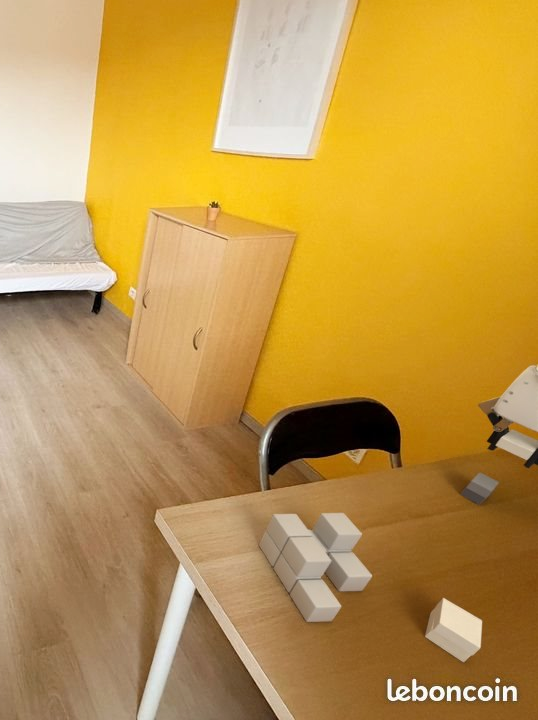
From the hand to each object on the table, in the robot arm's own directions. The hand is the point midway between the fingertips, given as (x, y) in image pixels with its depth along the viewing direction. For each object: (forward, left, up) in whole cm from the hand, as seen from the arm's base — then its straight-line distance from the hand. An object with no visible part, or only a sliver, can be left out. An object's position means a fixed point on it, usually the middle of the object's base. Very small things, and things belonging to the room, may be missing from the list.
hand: (510, 455), depth 76 cm
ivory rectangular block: (+22, +31, -11) cm, 40 cm away
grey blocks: (0, 0, -11) cm, 11 cm away
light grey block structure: (+37, +27, -11) cm, 48 cm away
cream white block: (0, 0, +2) cm, 2 cm away
